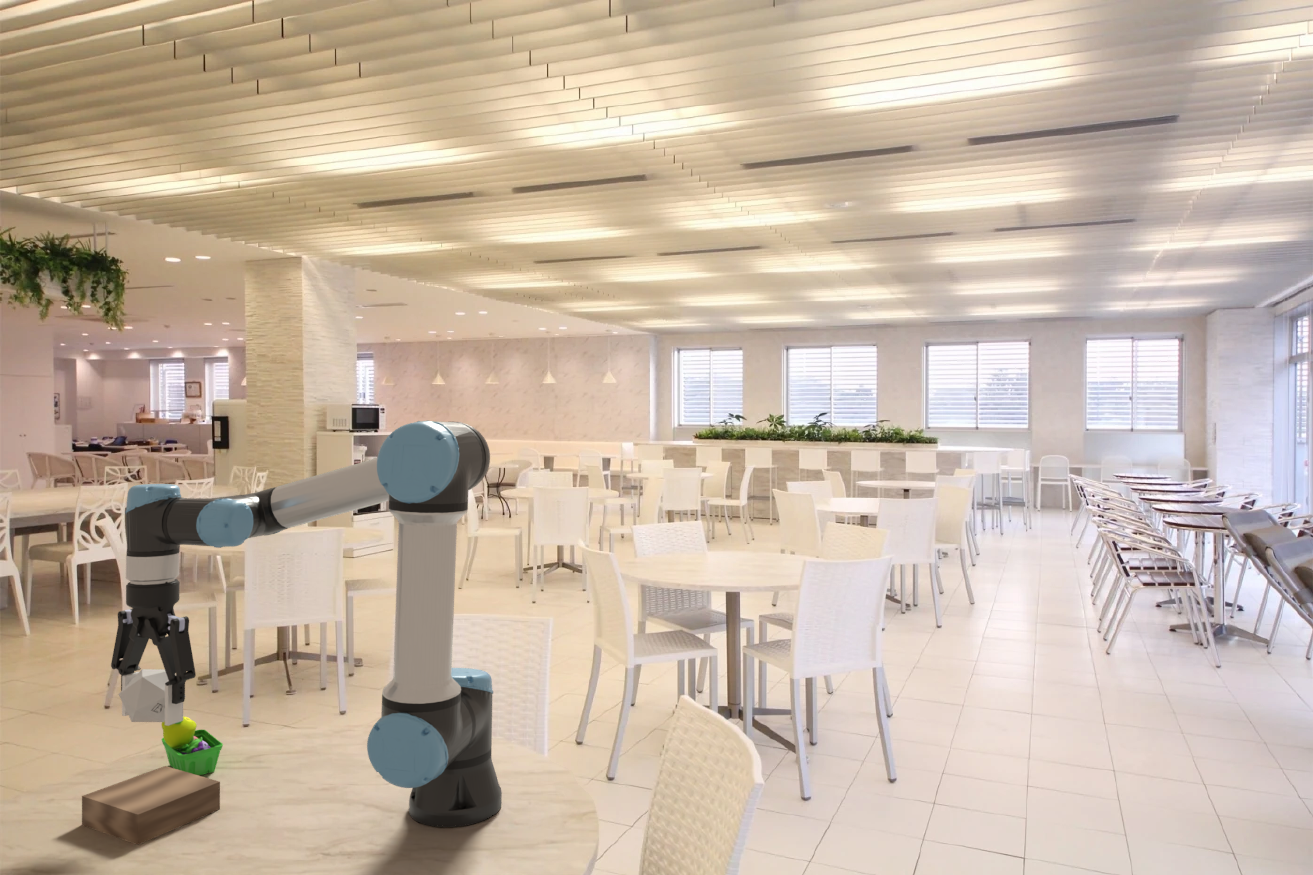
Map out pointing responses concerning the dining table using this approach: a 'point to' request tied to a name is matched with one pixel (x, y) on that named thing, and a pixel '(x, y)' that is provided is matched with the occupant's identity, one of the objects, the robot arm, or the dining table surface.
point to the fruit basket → (190, 747)
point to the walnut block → (150, 804)
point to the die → (146, 696)
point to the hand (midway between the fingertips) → (152, 717)
